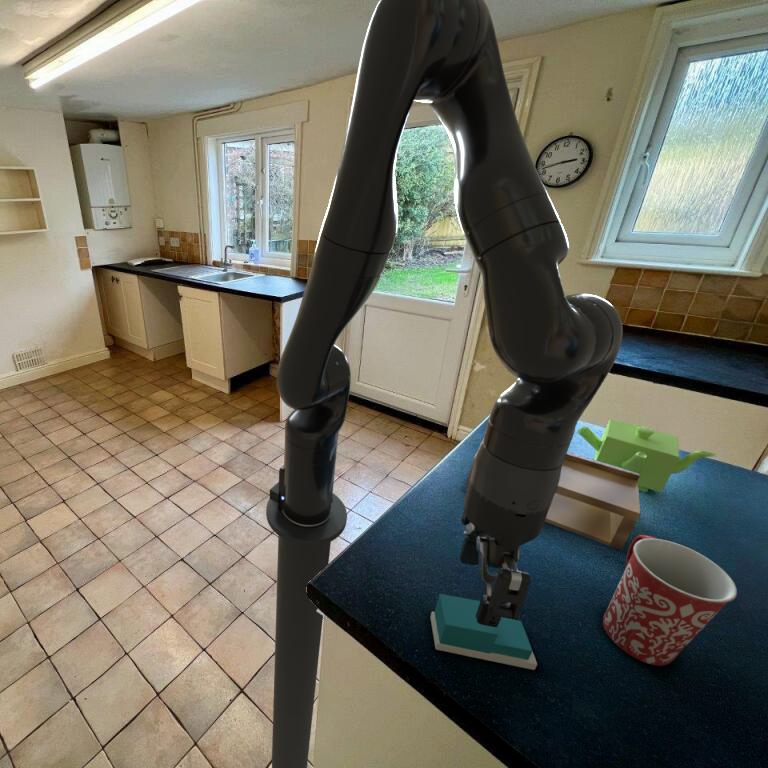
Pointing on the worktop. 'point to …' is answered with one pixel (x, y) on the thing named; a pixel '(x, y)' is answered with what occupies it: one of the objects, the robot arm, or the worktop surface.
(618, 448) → the kettle
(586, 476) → the shoe shelf
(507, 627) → the trainer
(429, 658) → the worktop surface
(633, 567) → the mug
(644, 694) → the worktop surface
